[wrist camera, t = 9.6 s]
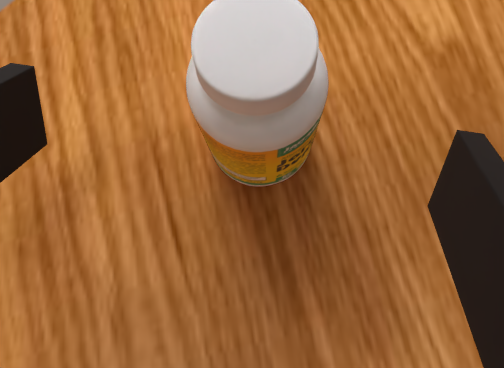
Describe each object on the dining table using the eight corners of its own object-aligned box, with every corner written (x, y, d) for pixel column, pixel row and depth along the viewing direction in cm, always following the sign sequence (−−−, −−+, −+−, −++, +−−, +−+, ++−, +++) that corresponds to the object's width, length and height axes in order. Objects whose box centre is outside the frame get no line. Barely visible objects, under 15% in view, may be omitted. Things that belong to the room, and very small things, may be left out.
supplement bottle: (238, 76, 24) (219, -61, 14) (328, 116, 23) (370, 1, 14) (190, 161, 23) (136, 76, 13) (283, 207, 22) (296, 150, 13)
